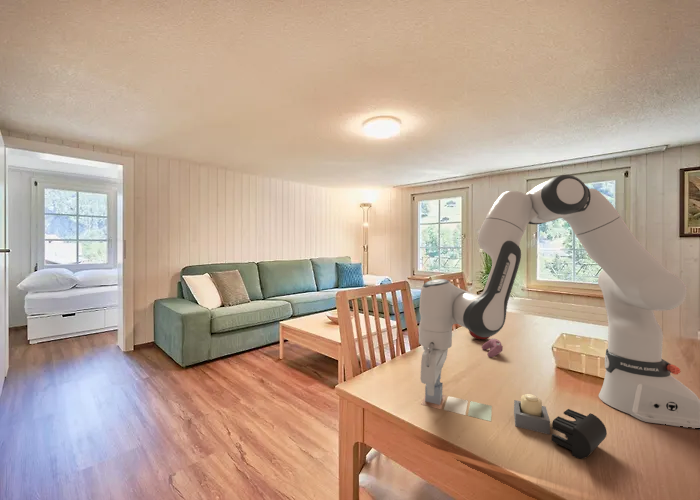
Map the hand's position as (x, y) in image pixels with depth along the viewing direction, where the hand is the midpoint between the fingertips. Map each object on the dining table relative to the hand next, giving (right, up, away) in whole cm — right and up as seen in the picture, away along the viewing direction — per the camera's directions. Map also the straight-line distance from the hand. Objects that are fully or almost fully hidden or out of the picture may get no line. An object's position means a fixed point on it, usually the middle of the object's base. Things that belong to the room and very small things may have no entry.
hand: (434, 386), depth 86 cm
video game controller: (+34, -4, +38) cm, 52 cm away
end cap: (+27, -6, -18) cm, 33 cm away
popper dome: (+21, -2, -10) cm, 23 cm away
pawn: (0, -4, 0) cm, 4 cm away
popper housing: (+21, -5, -10) cm, 24 cm away
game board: (+5, -5, -2) cm, 7 cm away
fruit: (+37, -3, +57) cm, 68 cm away
